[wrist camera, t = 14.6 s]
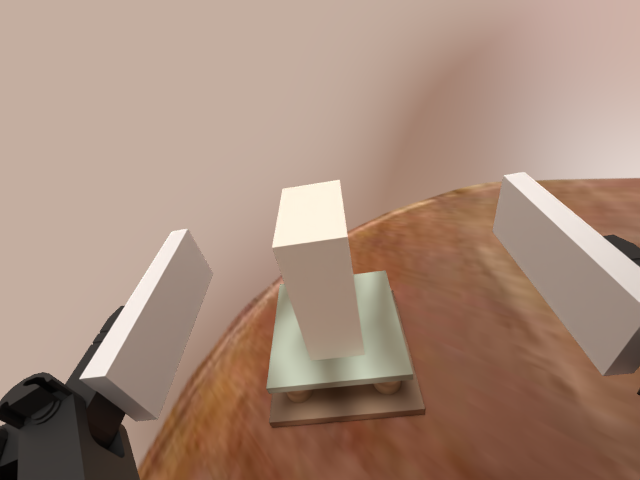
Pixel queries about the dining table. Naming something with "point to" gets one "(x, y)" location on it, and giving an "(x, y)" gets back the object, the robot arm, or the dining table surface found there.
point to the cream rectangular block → (319, 269)
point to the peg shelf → (349, 402)
